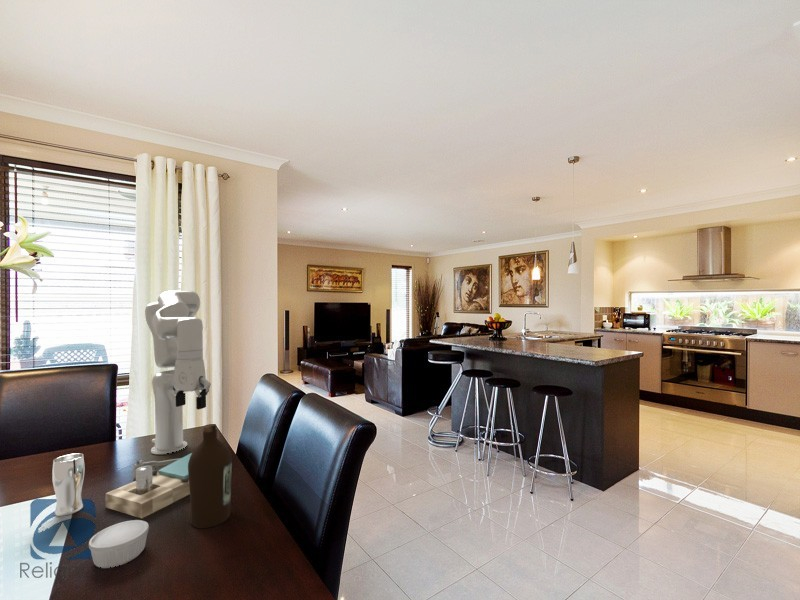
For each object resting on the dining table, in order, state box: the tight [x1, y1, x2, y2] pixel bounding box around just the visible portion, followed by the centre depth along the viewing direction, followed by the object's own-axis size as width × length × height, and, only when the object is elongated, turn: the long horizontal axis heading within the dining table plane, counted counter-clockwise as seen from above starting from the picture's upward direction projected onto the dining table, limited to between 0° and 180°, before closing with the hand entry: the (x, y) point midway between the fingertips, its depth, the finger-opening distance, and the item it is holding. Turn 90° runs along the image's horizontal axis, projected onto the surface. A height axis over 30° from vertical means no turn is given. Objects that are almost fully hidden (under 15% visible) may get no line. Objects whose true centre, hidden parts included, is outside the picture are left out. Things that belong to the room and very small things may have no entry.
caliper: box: [132, 457, 182, 481], centre depth 137 cm, size 20×1×6 cm, turn 147°
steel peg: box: [135, 466, 153, 495], centre depth 113 cm, size 4×4×10 cm
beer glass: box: [51, 452, 85, 517], centre depth 110 cm, size 7×7×15 cm
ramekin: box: [88, 519, 150, 569], centre depth 89 cm, size 11×11×5 cm
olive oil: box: [188, 423, 233, 529], centre depth 104 cm, size 11×11×25 cm
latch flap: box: [157, 452, 193, 479], centre depth 126 cm, size 12×12×1 cm
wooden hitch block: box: [105, 469, 190, 519], centre depth 118 cm, size 16×22×5 cm
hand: (190, 407), depth 128 cm, fingers open, 9 cm apart
